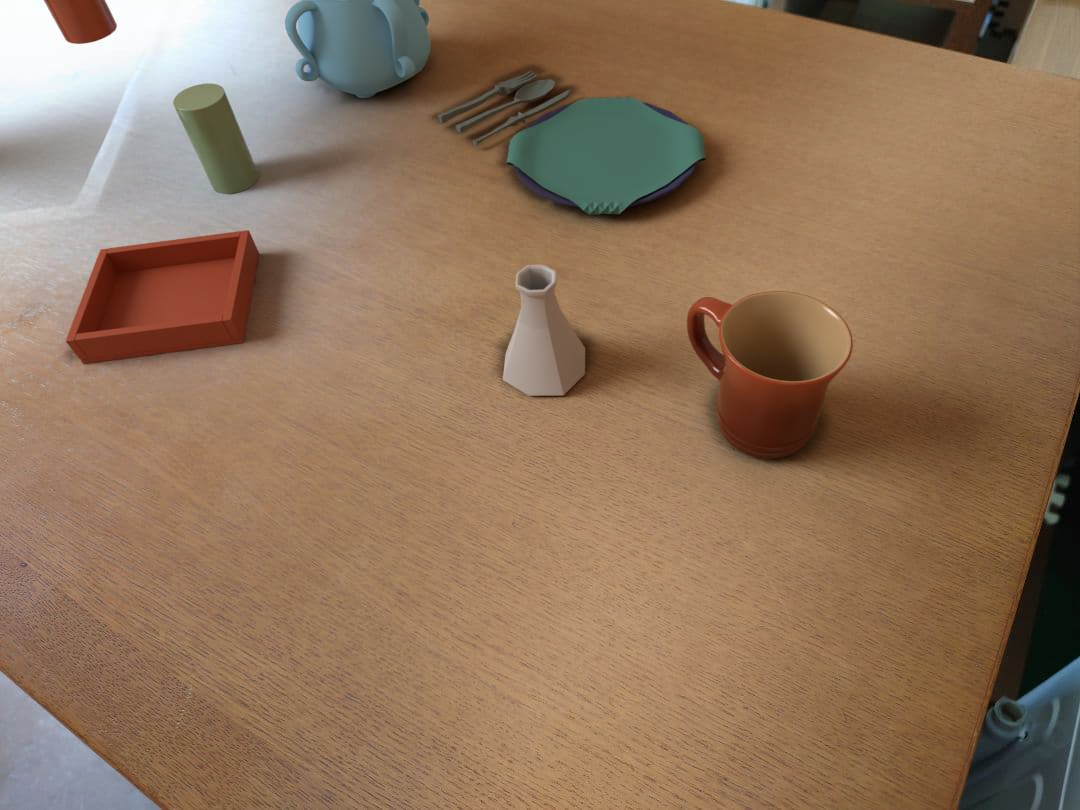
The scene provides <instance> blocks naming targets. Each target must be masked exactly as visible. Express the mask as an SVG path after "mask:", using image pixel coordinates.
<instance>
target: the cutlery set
mask: <svg viewBox="0 0 1080 810" xmlns="http://www.w3.org/2000/svg"><path fill="white" fill-rule="evenodd" d="M538 77H539V75H538V74H535V72H532V71H531V70H530V71H528V72H526V73H524V74H522V75H520V76H516V77H513V78H511V79H508V80H505V81H502V82H500V81H498V84H494V88H493V89H491V90H489V91H487V92H486V93H484V94H483V95H481V96H479V97H477V98H475V99H473V100H471V101H469V102H466V103H464V104H462V105H458V106H456V107H452V108H451V109H449V110H446V111H444V112H441V113H439V114H438V115H437V117H438V122H439V123H441V124H445V123H447V122H448V121H450V120H452V119H454V118H455V117H458V116H459V115H462V114H466V113H467V112H469V111H471V110H473V109H476V108H477V107H479V106H481V105H483V104H484V103H486V102H487V101H489V100H490V99H491V98H493V97H495V96H496V95H499V96H506V95H509V94H512V93H513V92H514V91H516V93H515V95H514V99H513V101H510V102H508V103H505V104H502V105H499V106H497V107H495V108H492V109H489V110H487V111H484V112H482V113H480V114H478V115H476V116H474V117H472V118H469V119H468V120H467V119H466V120H465V121H463V122H461V123H458V124H455V131H456V132H457V133H459V134H462V133H464V132H465V131H467V130H469V129H470V128H472V127H474V126H476V125H477V124H479V123H481V122H483V121H485V120H486V119H488V118H490V117H492V116H494V115H496V114H498V113H501V112H502V111H504V110H506V109H509V108H511V107H514V106H516V105H518V104H521V103H533V102H534V103H535V102H536V101H540V100H542V99H543V98H544V97H546V96H547V95H549V93H551V91H552V90H553V88H554V87H555V84H556V81H554V80H552V79H551V78H548V79H540V80H539V79H538V80H535V79H536V78H538ZM534 80H535V81H534ZM532 81H533V82H532ZM570 94H571V91H570V89H567V90H565V91H564V92H562V93H560V94H558V95H557V96H554V97H552V98H551V99H549V100H546V101H545V102H543V103H541V104H539V105H537V106H536V107H534V108H532V109H530V110H528V111H526V112H524V113H522V112H520V111H518V112H517V115H516V116H510V118H508V119H507V121H505V123H503V124H501V125H500V126H498V127H496V128H494V129H493V130H492V131H491V132H488V133H487V134H486V133H485V134H484V135H482V136H480V137H478V138H476V139H472V144H473V146H475V147H476V148H478V145H479V144H481V143H482V142H483V141H486V140H487V139H488V138H490V137H491V136H494V135H495V134H497V133H499V132H501V131H503V130H505V129H507V128H509V127H516V126H517V127H518V126H519V124H520V123H523V124H526V120H527V119H529V118H532V117H534V116H537V115H539V114H540V113H543V112H545V111H546V110H549V109H550V108H553V107H554V106H556V105H558V104H560V103H561V102H563V101H566V100H567V99H568V98H569V96H570ZM705 144H706V143H705V138H704V136H703V134H702V133H701V131H700V130H698V129H697V128H696V127H694V126H692V125H689V123H688V122H686V121H685V120H683V119H682V118H681V117H679V116H678V115H676V114H675V113H673V112H672V111H671V110H667V109H665V108H662V107H659V106H657V105H654V104H650V103H648V102H642V101H640V100H639V99H637V98H634V97H630V96H629V97H628V96H626V97H624V96H623V97H622V96H619V97H617V96H616V97H612V96H611V97H598V98H597V97H591V98H582V99H581V98H580V99H578V100H577V101H575V102H573V103H572V104H567V105H564V106H562V107H560V108H557V109H554V110H552V111H549V112H547V113H545V114H543V115H541V116H540V117H538V118H537V119H536V120H534V121H533V122H532V123H530V124H529V125H527V126H526V127H525V128H524V129H523V130H520V131H518V132H517V133H515V135H513V136H512V138H511V139H510V140H509V144H508V153H507V159H506V165H509V166H511V167H512V166H513V167H514V169H515V171H516V174H517V177H518V179H519V180H520V181H521V182H522V183H523V184H525V186H526V187H528V189H530V190H531V191H532V192H533V193H534V194H536V195H539V196H540V197H543V198H545V199H547V200H549V201H552V202H554V203H556V204H559V205H564V206H569V207H575V208H579V209H581V210H582V211H583V212H584V213H586V214H587V215H589V216H590V215H620V214H621V213H622V212H623V211H625V210H626V209H627V208H629V207H633V206H638V205H642V204H647V203H651V202H652V201H655V200H657V199H659V198H661V197H664V196H666V195H668V194H670V193H672V192H674V191H675V190H677V189H678V188H679V187H680V186H681V185H682V184H683V183H685V182H686V181H687V180H688V179H689V178H690V177H691V176H692V175H693V173H694V170H695V168H696V166H697V164H698V162H699V163H700V162H704V161H706V160H707V156H706V150H705Z"/></svg>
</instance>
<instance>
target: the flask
mask: <svg viewBox="0 0 1080 810" xmlns="http://www.w3.org/2000/svg"><path fill="white" fill-rule="evenodd" d="M557 275H558V272H557V270H555V269H554V268H551V267H549V266H548V265H545V264H527V265H526V266H524V267H523V268H521V270H519V271H518V272H517V273H516V275H515V285H514V287H515V290H516V291H518V292H519V296H520V312H519V314H518V317H517V320H516V324H515V327H514V330H513V333H512V336H511V338H510V340H509V343H508V346H507V348H506V352H505V356H504V365H503V373H502V374H503V375H502V381H504V382H505V383H507V384H508V385H511V386H512V387H514V388H515V389H517V390H518V391H520V392H522V393H524V394H525V395H526V396H529V397H530V396H532V397H533V396H537V397H538V396H564V395H566V394H567V393H568V392H569V391H570V390H571V389H572V388H573V387H574V386H575V385H576V383H578V382H579V381H580V380H581V379H582V377H584V376H585V375H586V348H585V345H584V344H583V342H582V341H581V339H580V337H579V336H578V335H577V333H576V332H575V331H574V328H572V326H571V324H570V323H569V321H568V319H567V317H566V316H565V314H564V312H563V311H562V309H561V308H560V307H561V306H560V305H559V301H558V299H557V295H556V292H555V289H556V287H557V277H558V276H557Z"/></svg>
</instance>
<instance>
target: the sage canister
mask: <svg viewBox="0 0 1080 810" xmlns="http://www.w3.org/2000/svg"><path fill="white" fill-rule="evenodd" d="M172 104H173V106H174V109H175V111H176V114H177V116H178V117H179V120H180V121H181V123H182V125H183V128H184V130H185V132H186V134H187V136H188V139H189V140H190V142H191V145H192V148H193V149H194V151H195V153H196V155H197V157H198V159H199V162H200V164H201V166H202V169H203V170H204V172H205V174H206V177H207V178H208V181H209V182H210V185H211V187H212V190H214V191H215V192H217V193H220V194H225V195H230V194H238V193H240V192H243V191H246V190H248V189H249V188H251V187H253V186H254V185H255V184H256V183H257V181H258V179H259V171H258V168H257V166H256V163H255V160H254V159H253V156H252V154H251V152H250V149H249V147H248V144H247V141H246V139H245V136H244V134H243V133H242V129H241V127H240V125H239V122H238V120H237V117H236V115H235V113H234V110H233V108H232V105H231V103H230V100H229V98H228V96H227V93H226V91H225V88H224V87H223V86H222V85H220V84H218V83H217V84H216V83H208V82H207V83H199V84H195V85H192V86H189V87H187V88H185V89H183V90H181V91H179V93H177V94H176V96H174V98H173V100H172Z"/></svg>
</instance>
